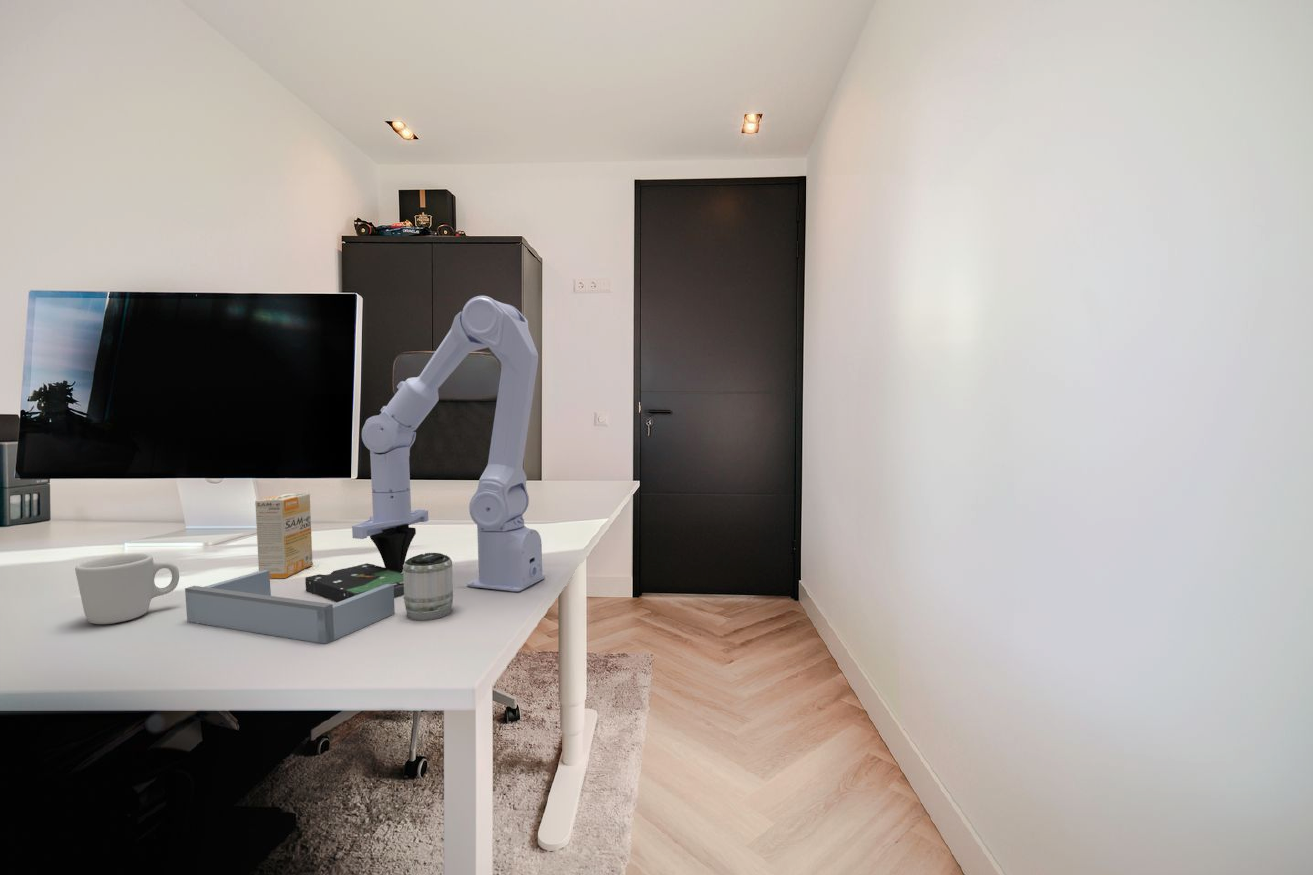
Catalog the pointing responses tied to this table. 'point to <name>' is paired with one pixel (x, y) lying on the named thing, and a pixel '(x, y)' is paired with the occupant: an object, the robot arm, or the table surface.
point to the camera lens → (428, 586)
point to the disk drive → (354, 582)
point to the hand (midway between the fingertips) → (394, 573)
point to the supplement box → (284, 534)
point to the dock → (284, 609)
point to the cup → (120, 586)
